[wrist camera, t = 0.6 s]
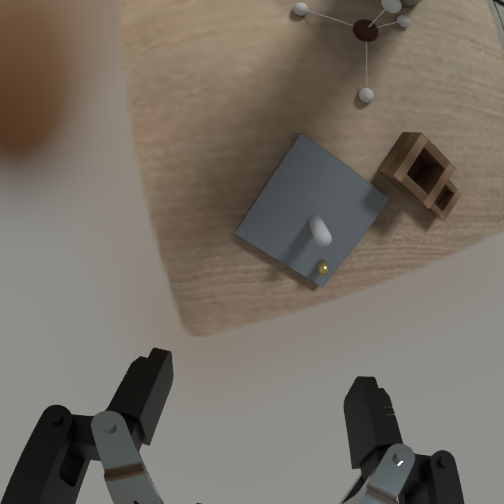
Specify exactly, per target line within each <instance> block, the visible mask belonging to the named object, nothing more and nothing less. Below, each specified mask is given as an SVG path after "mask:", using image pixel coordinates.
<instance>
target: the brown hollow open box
mask: <svg viewBox="0 0 504 504" xmlns="http://www.w3.org/2000/svg"><path fill="white" fill-rule="evenodd" d="M417 157H418V158H419V159H420V160H421V161H422V162H423V163H424V164H425V165H424V166H423V168H422V169H421V171H420V172H419V174H418V175H417V177H416V178H415V180H414V181H413V180H412V179H411V178H410V177H409V176H408V175H407V172H408V171H409V169H410V168H411V166H412V165H413V163H414V162H415V160H416V158H417ZM454 170H455V167H454V166H453V165H452V164H451V163H450V162H449V161H448V159H447V158H446V157H445V156H444V155H443V154H442V153H441V152H440V151H439V150H438V149H437V148H436V147H435V145H434V144H433V143H432V142H431V141H430V140H429V139H428V138H427V137H426V136H425V135H424V134H423V133H416V132H403V133H402V134H401V136H400V137H399V139H398V140H397V142H396V143H395V145H394V146H393V148H392V149H391V151H390V152H389V154H388V155H387V157H386V158H385V160H384V161H383V163H382V164H381V166H380V167H379V169H378V171H380V172H381V173H382V174H383V175H384V176H386V177H387V178H388V179H389V180H390V181H391V182H392V183H394V184H395V185H396V186H397V187H398V188H399V189H400V190H402V191H403V192H404V193H405V194H406V195H407V196H408V197H409V198H410V199H412V200H414V201H416V202H418V203H419V204H421V205H423V206H425V207H427V208H428V209H429V210H430V211H431V212H432V213H433V214H434V215H435V216H436V217H437V218H439V219H441V220H442V221H444V220H445V219H446V217H447V216H448V214H449V213H450V211H451V210H452V208H453V207H454V205H455V204H456V202H457V200H458V199H459V197H460V196H461V193H460V192H459V190H458V189H457V188H456V187H455V186H454V185H453V183H452V182H451V181H450V180H449V178H450V176H451V175H452V173H453V171H454ZM443 187H444V188H445V189H446V190H447V191H446V193H445V194H444V196H443V197H442V199H441V200H440V202H439V203H438V205H436V204H435V203H434V201H435V199H436V198H437V196H438V195H439V193H440V192H441V190H442V189H443Z"/></svg>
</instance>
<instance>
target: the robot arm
mask: <svg viewBox="0 0 504 504" xmlns="http://www.w3.org/2000/svg"><path fill="white" fill-rule="evenodd" d="M399 1H400V2H401V5H402V7H411V6H415V5H416V4H417V3H419V2H420V1H421V0H399ZM172 382H173V365H172V353H171V351H167V350H162V349H159V348H153V349H152V351H151V353H150V355H149V357H148V358H146V357H142V356H140V357H139V358H138V359H136V360H135V361H134V362H132V364H131V365H130V367H129V369H128V371H127V374H125V376H124V378H123V381H122V382H121V384H120V385H119V387H118V389H117V391H116V393H115V395H114V397H113V399H112V401H111V402H110V404H109V406H108V408H107V409H106V410H105V411H102V412H100V413H98V414H96V415H95V416H83V415H73V414H71V413H70V411H69V410H68V409H67V408H66V407H64V406H61V405H52V406H50V407H48V408H47V409H45V411H44V412H43V414H42V416H41V417H40V419H39V421H38V423H37V425H36V427H35V429H34V430H33V433H32V434H31V436H30V438H29V440H28V442H27V444H26V446H25V448H24V450H23V452H22V454H21V457H20V459H19V461H18V463H17V465H16V467H15V470H14V472H13V475H12V476H11V479H10V481H9V484H8V486H7V489H6V491H5V494H4V496H3V499H2V501H1V504H75V503H76V500H77V497H78V493H79V491H80V487H81V485H82V482H83V479H84V476H85V473H86V471H87V468H88V465H89V462H90V460H97V461H101V462H102V465H103V468H104V472H105V474H104V479H105V482H106V485H107V488H108V490H109V493H110V495H111V498H112V500H113V503H114V504H164V502H163V501H162V499H161V497H160V495H159V493H158V491H157V490H156V488H155V486H154V484H153V482H152V480H151V478H150V476H149V473H148V472H147V469H146V467H145V465H144V463H143V460H142V458H141V456H140V453H139V450H140V448H141V445H142V443H143V444H146V445H150V443H151V440H152V437H153V435H154V432H155V429H156V426H157V424H158V421H159V418H160V415H161V413H162V410H163V407H164V405H165V402H166V399H167V397H168V394H169V391H170V389H171V386H172ZM344 414H345V420H346V427H347V433H348V441H349V448H350V456H351V464H352V469H358V468H361V474H360V475H359V477H358V478H357V480H356V481H355V482H354V484H353V485H352V487H351V488H350V490H349V491H348V492H347V494H346V495H345V496H344V498H343V499H342V500H341V502H340V503H339V504H398V502H397V501H396V499H397V496H398V500H399V504H464V499H463V494H462V489H461V484H460V480H459V475H458V471H457V467H456V463H455V459H454V457H453V456H452V454H451V453H449V452H448V451H445V450H440V451H437V452H436V453H434V454H433V455H432V456H427V455H419V454H415V453H414V452H413V451H412V449H411V448H410V447H408V446H407V445H404V444H403V442H402V438H401V434H400V431H399V427H398V423H397V420H396V416H395V415H394V410H393V408H392V403H391V400H390V397H389V395H388V394H387V393H386V391H385V390H384V389H383V388H378V385H377V382H376V379H375V377H361V376H358V377H357V378H356V379H355V381H354V383H353V385H352V387H351V388H350V390H349V392H348V394H347V395H346V397H345V400H344ZM197 504H200V503H197Z"/></svg>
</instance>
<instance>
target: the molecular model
mask: <svg viewBox="0 0 504 504" xmlns="http://www.w3.org/2000/svg"><path fill="white" fill-rule="evenodd" d="M381 5H382V7H383V8H384V10H383V11H382V12H381V13H380V14H379V15H378V16H377V18H376V19H375V20H374V21H373V22H371V21H369V20H365V19H362V20H358V21H357V22H356V23H355V24H354V25H351V24H349V23H346V22H343V21H340V20H337V19H334V18H331V17H328V16H325V15H322V14H318V13H315V12H311V11H309V9H308V6H307V5H306V4H304V3H297V4H295V5H294V7H293V11H294V13H295V14H297V15H299V16H304V15H306V14H307V13H308V12H310V13H314V14H317V15H321V16H324V17H327V18H330V19H333V20H336V21H339V22H342V23H345V24H348V25H351V26H353V32H354V34H355V36H356V37H357V38H358V39H359V40H361V41H364V42H366V88H362V89H361V90H360V91H359V98H360V99H361V100H362V101H363V102H365V103H369V102H371V101H372V100H373V98H374V94H373V92H372V91H371V90H370V89H368V88H367V81H368V57H367V42H371V41H374V40H375V39H376V38H377V37H378V28H379V27H383V26H386V25H390V24H394V23H398V24H399V25H400V26H402V27H408V26H410V19H409V18H408V17H407V16H405V15H399V16H398V17H397V22H393V23H389V24H385V25H381V26H378V27H377V26H376V25H375V24H374V22H375V21H376V20H377V19H378V18H379V17H380V16H381V15H382V14H383V13H384V12H385V11H388V12H390V13H397V12H399V11H400V10H401V8H402V5H401V2H400V1H399V0H381Z"/></svg>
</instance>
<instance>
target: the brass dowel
mask: <svg viewBox="0 0 504 504" xmlns="http://www.w3.org/2000/svg"><path fill="white" fill-rule="evenodd" d="M317 267H318V270H319V273H320V274H321V275H322V276H325V275H327V274H328V273H329V268H328V265H327V263H326V261H325V260H323V259H321V260H319V261H318V262H317Z"/></svg>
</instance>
